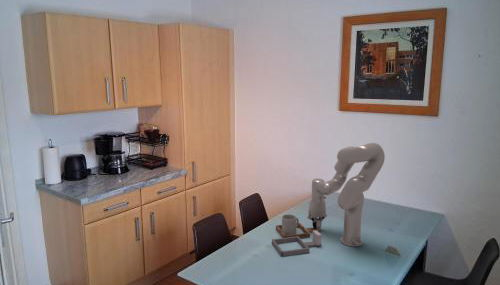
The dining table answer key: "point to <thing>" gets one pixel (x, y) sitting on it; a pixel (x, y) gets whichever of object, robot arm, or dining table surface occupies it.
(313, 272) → the dining table surface
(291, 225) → the mug
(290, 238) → the grey frame with handle
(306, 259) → the dining table surface
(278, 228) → the brown frame with handle
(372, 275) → the dining table surface
